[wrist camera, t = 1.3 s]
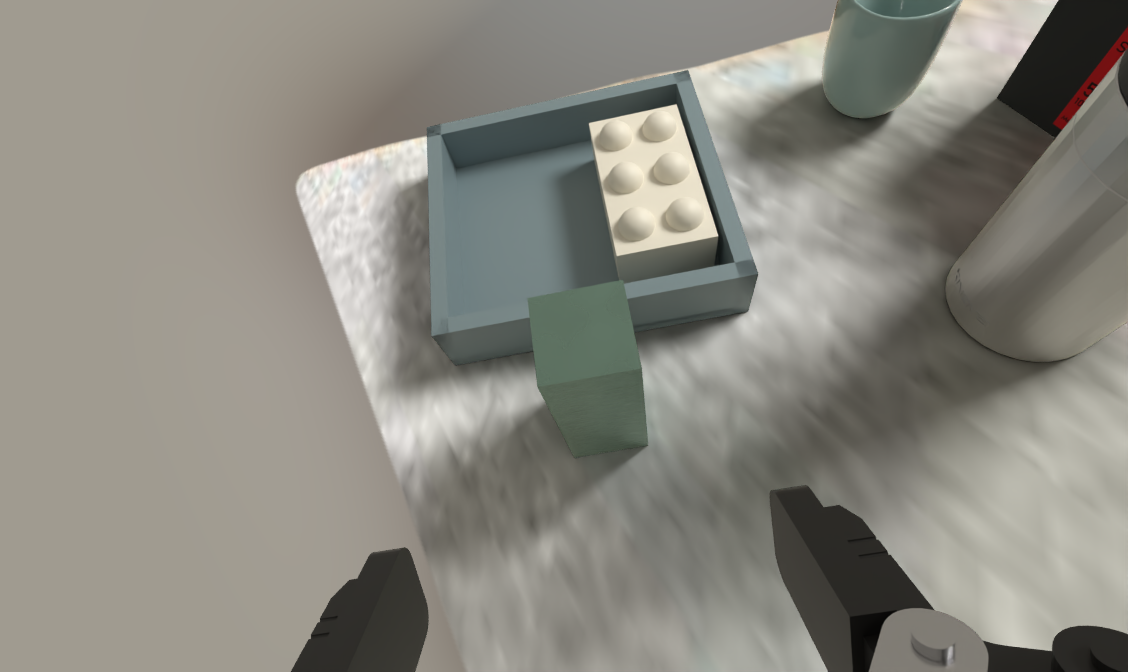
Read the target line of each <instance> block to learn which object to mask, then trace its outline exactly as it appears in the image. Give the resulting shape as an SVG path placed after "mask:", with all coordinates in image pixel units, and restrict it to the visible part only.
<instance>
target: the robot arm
mask: <svg viewBox="0 0 1128 672" xmlns="http://www.w3.org/2000/svg"><path fill="white" fill-rule="evenodd" d="M945 291H946V300H947V303H948V305H949V308H950V311H951V313H952V314H953V316H954V317H955V319H956V320H957V322H958V324H959V325H960V326H961V327H962V328H963V329H964V330H965V331H966V332H967V333H968V334H969V335H970V336H971V337H973V338H974V339H975V340H977V341H978V342H980V343H981V344H982V345H984V346H986V347H988V348H990V349H992V350H994V351H996V352H997V353H1000V354H1003V355H1006V356H1009V357H1012V358H1015V359H1020V360H1026V361H1032V362H1052V361H1057V360H1063V359H1067V358H1069V357H1072V356H1074V355H1077V354H1079V353H1081V352H1082V351H1084V350H1085V349H1087V348H1088V347H1090V346H1092V345H1093V344H1095V343H1096V342H1098V341H1099V340H1101V339H1102V338H1104V337H1105V336H1107V335H1108V334H1110V333H1111V332H1113V331H1114V330H1116V329H1117V328H1119V327H1121V326H1122V325H1124V324H1125V323H1127V322H1128V48H1127V50H1126V51H1125V52H1124V53H1123V55H1122V56H1121V57H1120V58H1119V60H1118V61H1117V62H1116V63H1115V65H1114V66H1113V67H1112V68H1111V70H1110V71H1109V72H1108V73H1107V74H1106V76H1105V77H1104V78H1103V79H1102V81H1101V82H1100V83H1099V84H1098V86H1097V87H1096V88H1095V89H1094V91H1093V92H1092V93H1091V94H1090V96H1089V97H1088V98H1087V99H1086V101H1085V102H1084V104H1083V105H1082V106H1081V107H1080V109H1079V110H1078V111H1077V112H1076V113H1075V115H1074V116H1073V117H1072V118H1071V120H1070V121H1069V122H1068V123H1067V125H1066V126H1065V127H1064V128H1063V130H1062V131H1061V132H1060V133H1059V135H1058V136H1057V137H1056V138H1055V140H1054V141H1053V142H1052V143H1051V145H1050V146H1049V147H1048V148H1047V150H1046V151H1045V152H1044V153H1043V155H1042V156H1041V157H1040V158H1039V160H1038V161H1037V162H1036V163H1035V164H1034V166H1033V167H1032V168H1031V169H1030V171H1029V172H1028V173H1027V174H1026V176H1025V177H1024V178H1023V179H1022V181H1021V182H1020V183H1019V184H1018V186H1017V187H1016V188H1015V189H1014V191H1013V192H1012V193H1011V194H1010V196H1009V197H1008V198H1007V199H1006V201H1005V202H1004V203H1003V204H1002V206H1001V207H1000V208H999V209H998V211H997V212H996V213H995V214H994V215H993V217H992V218H991V219H990V220H989V222H988V223H987V224H986V225H985V227H984V228H983V229H982V230H981V231H980V233H979V234H978V235H977V236H976V238H975V239H974V240H973V241H972V243H971V244H970V245H969V246H968V248H967V249H966V250H965V251H964V253H963V254H962V255H961V256H960V258H959V259H958V260H957V261H956V263H955V264H954V265H953V266H952V268H951V270H950V272H949V274H948V276H947V281H946V287H945ZM770 507H771V516H772V526H773V536H774V546H775V554H776V559H777V563H778V567H779V570H780V573H781V576H782V579H783V581H784V583H785V585H786V587H787V589H788V591H789V593H790V595H791V597H792V599H793V601H794V603H795V605H796V607H797V609H798V611H799V613H800V616H801V618H802V620H803V622H804V624H805V626H806V628H807V630H808V632H809V634H810V636H811V638H812V640H813V642H814V644H815V646H816V648H817V650H818V652H819V654H820V656H821V658H822V660H823V662H824V664H825V666H826V668H827V670H828V672H1128V634H1126V633H1123V632H1120V631H1116V630H1112V629H1109V628H1103V627H1097V626H1075V627H1070V628H1067V629H1064V630H1062V631H1061V632H1059V633H1058V634H1057V635H1056V636H1055V638H1054V640H1053V644H1052V651H1045V650H1036V649H1028V648H1020V647H1011V646H1004V645H998V644H993V643H989V642H986V641H983V640H982V639H981V638H980V637H979V635H978V634H977V633H976V632H975V631H974V630H973V629H971V628H970V627H969V626H967V625H966V624H965V623H963V622H962V621H960V620H958V619H956V618H954V617H952V616H950V615H948V614H945V613H942V612H939V611H935V610H934V609H933V608H932V606H931V605H930V604H929V603H928V601H927V600H926V599H925V598H924V596H923V595H922V594H921V593H920V591H919V590H918V589H917V587H916V586H915V585H914V584H913V582H912V581H911V580H910V579H909V577H908V576H907V575H906V574H905V572H904V571H903V570H902V569H901V567H900V566H899V565H898V564H897V562H896V561H895V560H894V559H893V557H892V556H891V555H888V552H887V550H886V549H885V547H884V546H883V545H882V544H881V542H880V541H879V540H877V539H876V536H875V535H874V534H873V532H872V531H871V530H870V529H869V527H868V526H867V525H866V524H865V522H864V521H863V520H862V519H861V518H860V517H858V516H856V515H855V514H853V513H851V512H850V511H848V510H847V509H845V508H843V507H842V506H840V505H836V506H830V507H823V506H822V504H821V503H820V502H819V500H818V499H817V498H816V496H815V495H814V493H813V492H812V491H811V489H810V488H809V487H808V486H807V485H803V486H797V487H790V488H784V489H778V490H771V491H770ZM427 630H428V607H427V603H426V599H425V596H424V593H423V590H422V587H421V584H420V581H419V577H418V574H417V571H416V568H415V565H414V562H413V559H412V556H411V553H410V551H409V550H408V549H407V548H399V549H393V550H386V551H380V552H373V553H371V554H370V556H369V557H368V559H367V561H366V563H365V565H364V567H363V569H362V571H361V573H360V575H359V576H358V579H353V580H349V581H348V582H347V583H346V584H345V585H344V586H343V587H342V588H341V589H340V590H339V591H338V592H337V593H336V594H335V595H334V596H333V597H332V598H331V599H330V601H329V603H328V605H327V607H326V609H325V611H324V612H323V614H322V616H321V618H320V622H319V623H317V625H316V627H315V629H314V631H313V632H312V634H311V639H309V640H308V642H307V643H306V645H305V647H304V649H303V650H302V652H301V654H300V656H299V658H298V660H297V661H296V663H295V665H294V667H293V669H292V671H291V672H415V671H416V667H417V664H418V661H419V658H420V654H421V651H422V648H423V645H424V641H425V638H426V635H427Z"/></svg>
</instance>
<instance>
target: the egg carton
mask: <svg viewBox="0 0 1128 672" xmlns="http://www.w3.org/2000/svg"><path fill="white" fill-rule="evenodd" d="M589 128H590V135H591V142H592V148H593V155H594V161H595V166H596V171H597V176H598V181H599V185H600V190H601V195H602V200H603V205H604V210H605V214H606V219H607V224H608V229H609V234H610V239H611V243H612V248H613V253H614V258H615V263H616V268H617V272H618V277H619V280H623V282H624V284H625V283H630V282H635V281H641V280H646V279H651V278H656V277H661V276H667V275H672V274H677V273H682V272H687V271H693V270H698V269H703V268H708V267H714V264H715V257H716V250H717V243H718V233H717V230H716V227H715V224H714V221H713V217H712V214H711V211H710V208H709V205H708V202H707V199H706V195H705V192H704V189H703V186H702V183H701V180H700V177H699V173H698V170H697V167H696V164H695V161H694V158H693V154H692V151H691V148H690V145H689V142H688V139H687V136H686V132H685V129H684V126H683V123H682V120H681V117H680V114H679V110H678V107H677V104H676V105H671V106H667V107H662V108H657V109H653V110H648V111H643V112H639V113H634V114H629V115H625V116H620V117H615V118H611V119H606V120H601V121H597V122H592V123H589Z"/></svg>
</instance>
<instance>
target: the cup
mask: <svg viewBox="0 0 1128 672" xmlns="http://www.w3.org/2000/svg"><path fill="white" fill-rule="evenodd" d="M961 3H962V0H838V1H837V4H836V8H835V12H834V15H833V19H832V22H831V26H830V30H829V34H828V38H827V42H826V47H825V52H824V58H823V67H822V84H823V90H824V93H825V95H826V97H827V99H828V101H829V102H830V104H831V105H832V106H833V107H834V108H835V109H836V110H838V111H839V112H841V113H842V114H844V115H847V116H850V117H855V118H871V117H876V116H880V115H883V114H886V113H888V112H891V111H893V110H894V109H896V108H897V107H899V106H900V105H902V104H903V103H904V102H905V101H906V100H907V99H908V98H909V97H910V96H911V95H912V94H913V93H914V91H915V90H916V89H917V88H918V86H919V85H920V83H921V82H922V80H923V79H924V77H925V76H926V74H927V72H928V71H929V69H930V67H931V65H932V64H933V62H934V60H935V58H936V56H937V54H938V52H939V50H940V48H941V46H942V44H943V42H944V40H945V38H946V36H947V34H948V32H949V30H950V28H951V25H952V23H953V21H954V19H955V17H956V15H957V13H958V10H959V8H960V6H961Z"/></svg>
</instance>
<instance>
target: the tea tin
mask: <svg viewBox="0 0 1128 672" xmlns="http://www.w3.org/2000/svg"><path fill="white" fill-rule="evenodd" d="M527 300H528V308H529V317H530V326H531V334H532V343H533V352H534V360H535V369H536V378H537V386H538V389H539V391H540V393H541V395H542V396H543V398H544V400H545V402H546V404H547V406H548V408H549V410H550V412H551V414H552V416H553V417H554V419H555V421H556V423H557V425H558V427H559V429H560V431H561V433H562V435H563V437H564V439H565V440H566V442H567V444H568V446H569V448H570V450H571V452H572V454H573V456H574V458H577V457H583V456H589V455H595V454H601V453H606V452H612V451H618V450H624V449H630V448H636V447H642V446H648V439H647V427H646V414H645V402H644V390H643V378H642V367H641V362H640V358H639V353H638V348H637V343H636V339H635V334H634V329H633V324H632V320H631V315H630V310H629V305H628V301H627V296H626V291H625V286H624V282H623V280H619V281H614V282H608V283H603V284H598V285H593V286H588V287H582V288H577V289H572V290H567V291H562V292H557V293H551V294H546V295H541V296H536V297H531V298H527Z"/></svg>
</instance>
